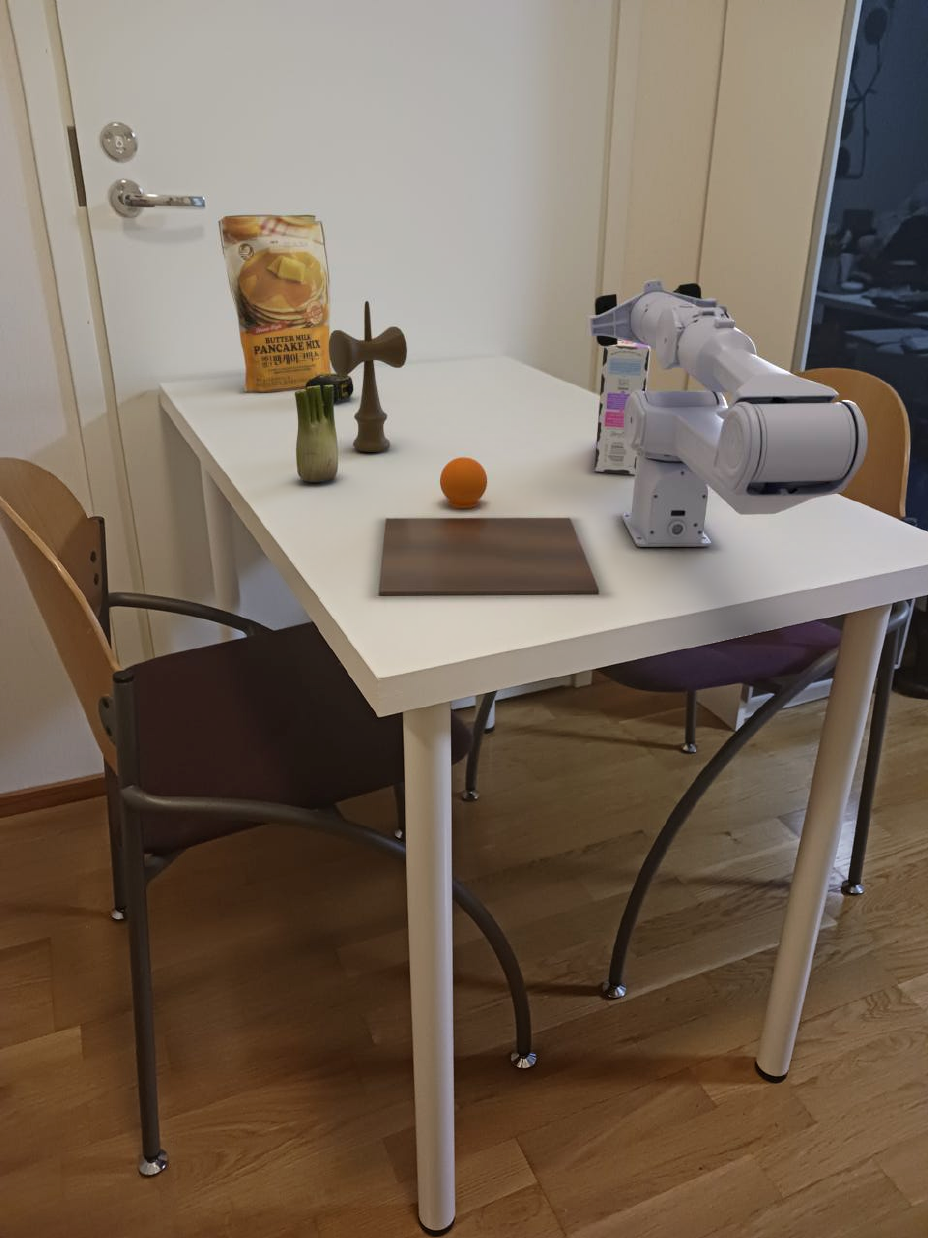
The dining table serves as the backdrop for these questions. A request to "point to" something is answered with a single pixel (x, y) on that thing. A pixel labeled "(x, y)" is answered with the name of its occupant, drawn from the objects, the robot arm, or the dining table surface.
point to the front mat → (483, 557)
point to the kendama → (368, 375)
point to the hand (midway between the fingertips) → (632, 306)
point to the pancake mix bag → (279, 297)
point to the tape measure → (334, 385)
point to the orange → (463, 482)
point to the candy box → (619, 404)
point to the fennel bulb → (316, 434)
